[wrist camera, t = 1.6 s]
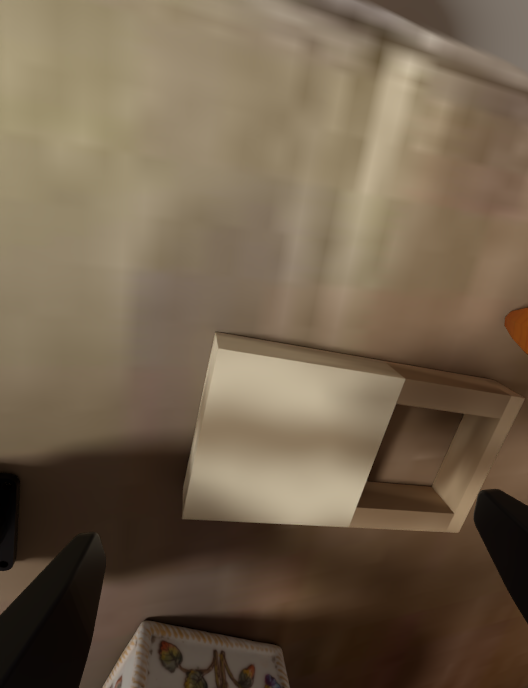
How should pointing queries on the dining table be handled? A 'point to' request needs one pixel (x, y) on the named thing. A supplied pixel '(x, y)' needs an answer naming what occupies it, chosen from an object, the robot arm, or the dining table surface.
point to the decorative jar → (196, 661)
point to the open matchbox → (331, 439)
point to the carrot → (518, 327)
